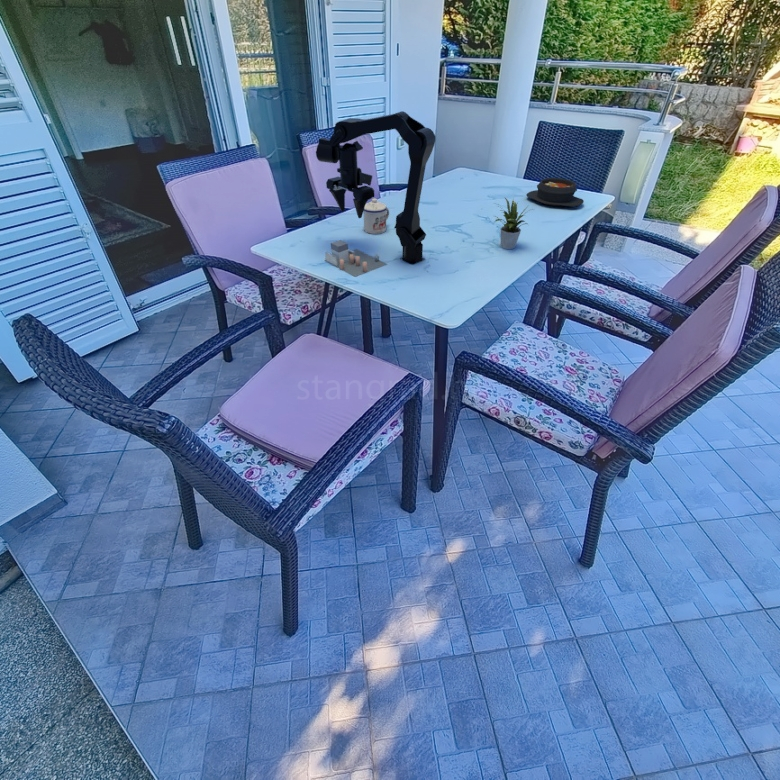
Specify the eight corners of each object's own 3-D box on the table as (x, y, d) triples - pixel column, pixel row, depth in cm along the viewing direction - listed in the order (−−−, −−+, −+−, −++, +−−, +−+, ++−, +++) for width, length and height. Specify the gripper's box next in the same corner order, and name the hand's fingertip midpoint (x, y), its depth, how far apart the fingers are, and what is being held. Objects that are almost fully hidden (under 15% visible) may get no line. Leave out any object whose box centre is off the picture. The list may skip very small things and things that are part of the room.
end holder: (355, 260, 151) (354, 251, 149) (337, 266, 147) (336, 258, 145) (343, 254, 155) (342, 245, 153) (325, 260, 151) (324, 251, 149)
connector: (339, 264, 149) (338, 246, 145) (332, 260, 151) (330, 243, 147) (348, 260, 151) (347, 243, 147) (341, 256, 153) (340, 239, 149)
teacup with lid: (374, 236, 169) (373, 204, 161) (358, 230, 174) (357, 199, 166) (396, 228, 175) (397, 197, 168) (380, 222, 180) (380, 192, 173)
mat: (387, 265, 149) (387, 264, 149) (355, 278, 142) (354, 276, 142) (356, 250, 159) (356, 248, 158) (324, 261, 152) (324, 260, 151)
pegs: (386, 264, 149) (386, 255, 147) (353, 276, 142) (353, 267, 140) (369, 255, 154) (369, 247, 152) (337, 267, 147) (336, 258, 145)
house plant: (478, 240, 165) (483, 194, 155) (510, 235, 169) (518, 190, 158) (498, 255, 155) (506, 207, 144) (532, 249, 159) (542, 202, 148)
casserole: (588, 202, 198) (594, 182, 192) (572, 214, 187) (577, 193, 181) (536, 192, 210) (540, 172, 204) (518, 202, 199) (521, 182, 194)
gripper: (386, 165, 141) (387, 215, 151) (349, 155, 152) (352, 202, 162) (359, 172, 136) (362, 224, 146) (323, 161, 146) (327, 209, 156)
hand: (351, 214), depth 153 cm, fingers open, 9 cm apart
